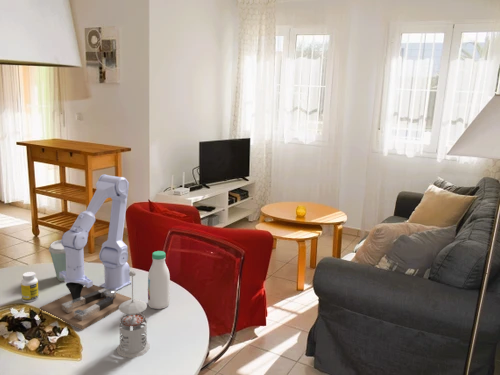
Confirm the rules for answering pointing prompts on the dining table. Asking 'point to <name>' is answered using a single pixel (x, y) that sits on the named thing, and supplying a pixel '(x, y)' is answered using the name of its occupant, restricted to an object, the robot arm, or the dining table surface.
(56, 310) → the cutting board
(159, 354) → the dining table surface
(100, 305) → the tongs fixed arm
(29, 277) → the supplement bottle
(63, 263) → the disposable coffee cup
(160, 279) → the milk bottle
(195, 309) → the dining table surface
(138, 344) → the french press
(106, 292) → the tongs arm
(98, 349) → the dining table surface
